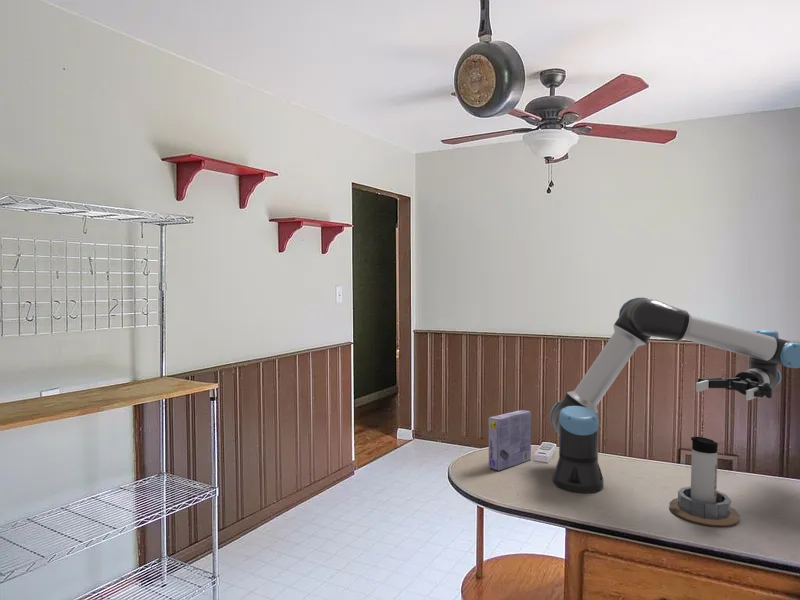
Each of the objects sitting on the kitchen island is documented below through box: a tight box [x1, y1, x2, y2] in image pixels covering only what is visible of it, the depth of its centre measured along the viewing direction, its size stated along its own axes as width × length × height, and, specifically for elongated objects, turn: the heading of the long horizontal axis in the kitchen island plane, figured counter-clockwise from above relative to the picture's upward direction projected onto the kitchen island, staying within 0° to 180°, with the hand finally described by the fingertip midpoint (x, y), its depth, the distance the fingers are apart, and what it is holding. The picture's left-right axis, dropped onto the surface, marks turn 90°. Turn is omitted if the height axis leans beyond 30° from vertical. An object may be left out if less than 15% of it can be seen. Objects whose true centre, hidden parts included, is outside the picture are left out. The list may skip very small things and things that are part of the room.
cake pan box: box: [488, 409, 532, 472], centre depth 193 cm, size 19×5×18 cm, turn 130°
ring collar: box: [668, 485, 740, 528], centre depth 154 cm, size 17×17×5 cm
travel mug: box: [690, 436, 719, 503], centre depth 154 cm, size 6×7×20 cm
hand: (721, 391), depth 161 cm, fingers open, 13 cm apart
